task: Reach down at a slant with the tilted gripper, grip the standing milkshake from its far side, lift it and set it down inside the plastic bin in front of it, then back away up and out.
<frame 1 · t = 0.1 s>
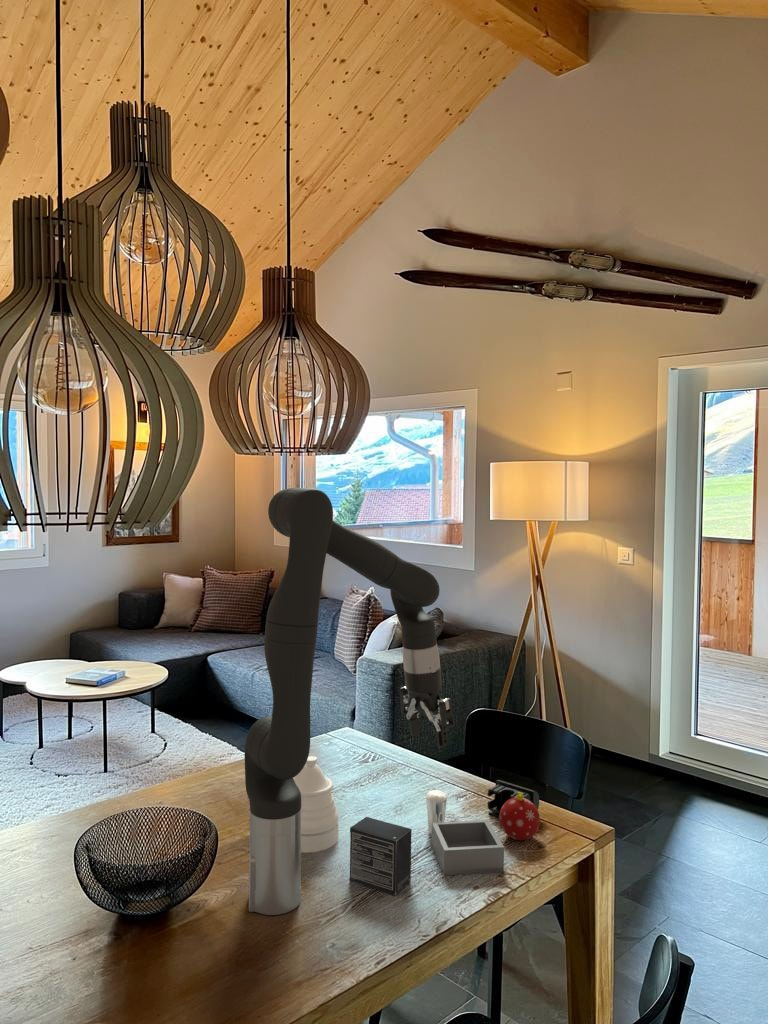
hand: (428, 740, 160), 22 cm above the table, tool pointing down, fingers open, 8 cm apart
honey pot: (308, 838, 164), on the table
bin: (466, 858, 156), on the table
christmas ornament: (519, 838, 165), on the table
milkshake: (437, 834, 167), on the table
end cap: (512, 816, 176), on the table
small box: (380, 882, 147), on the table
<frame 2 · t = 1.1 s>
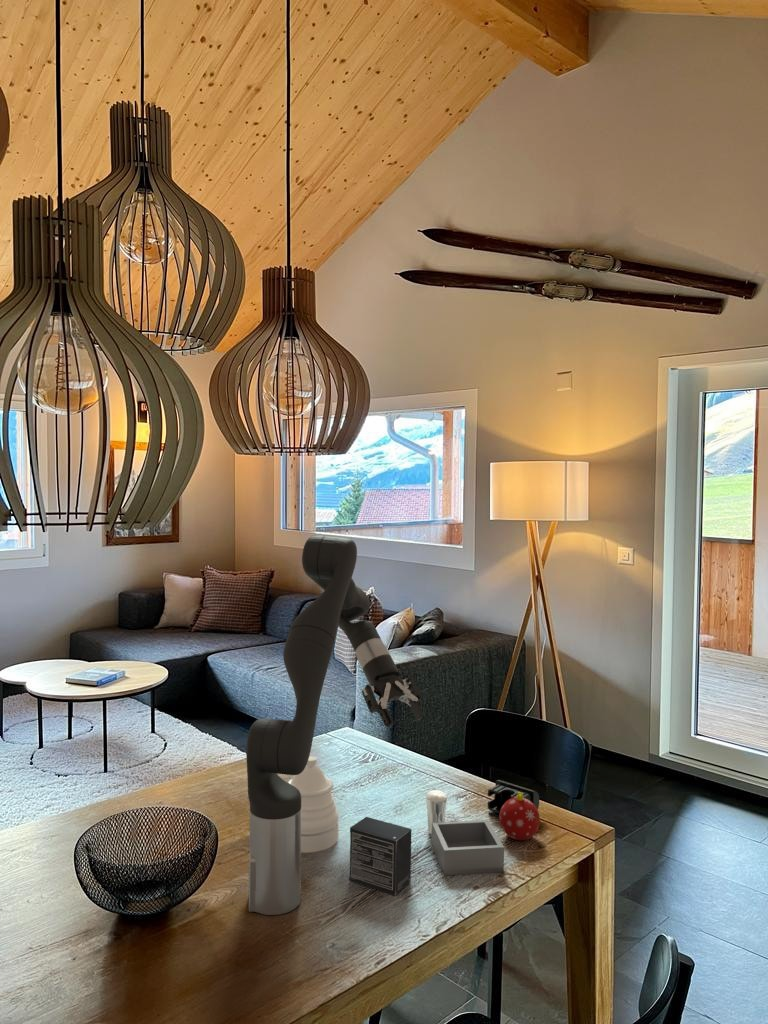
hand: (406, 722, 175), 21 cm above the table, tool tilted 45°, fingers open, 8 cm apart
nothing on the table moved.
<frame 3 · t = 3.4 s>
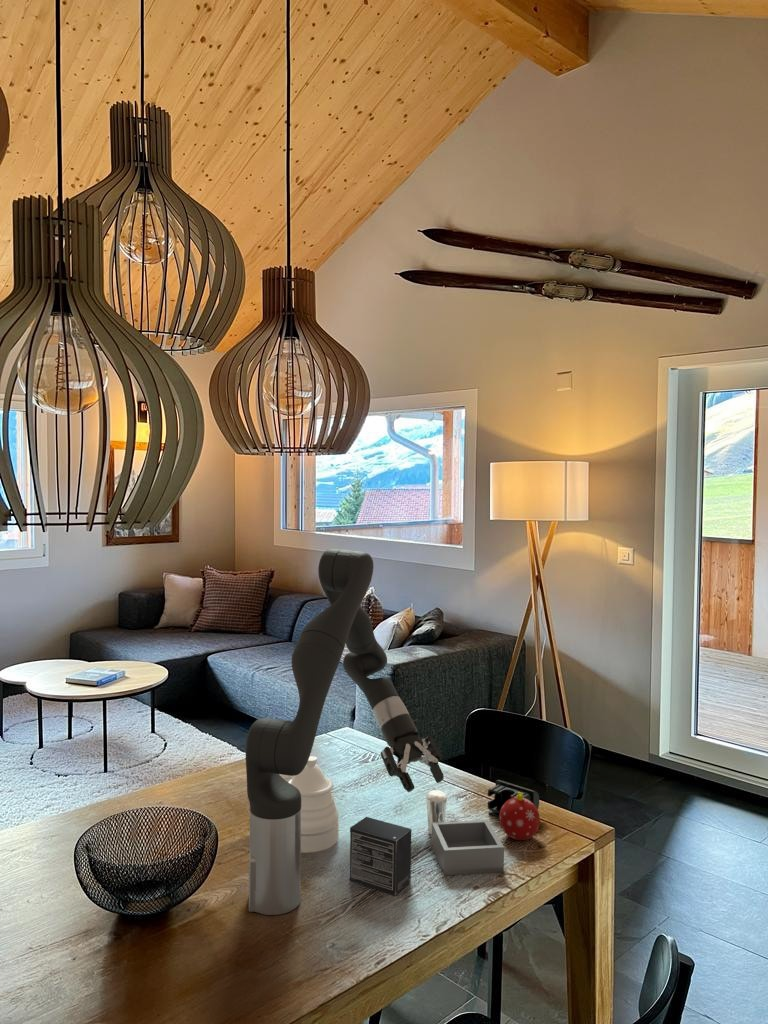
hand: (426, 785, 169), 9 cm above the table, tool tilted 45°, fingers open, 8 cm apart
nothing on the table moved.
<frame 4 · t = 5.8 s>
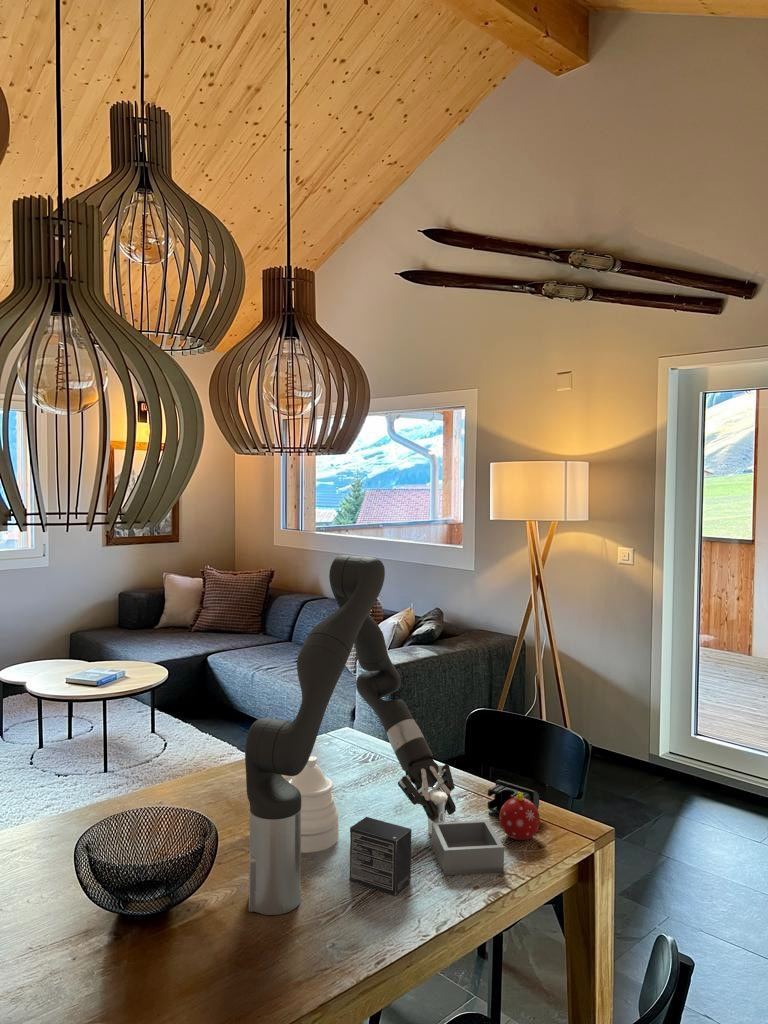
hand: (444, 815, 165), 5 cm above the table, tool tilted 45°, fingers closed on milkshake, 4 cm apart
milkshake: (437, 833, 167), on the table, touching gripper
everything else where it was.
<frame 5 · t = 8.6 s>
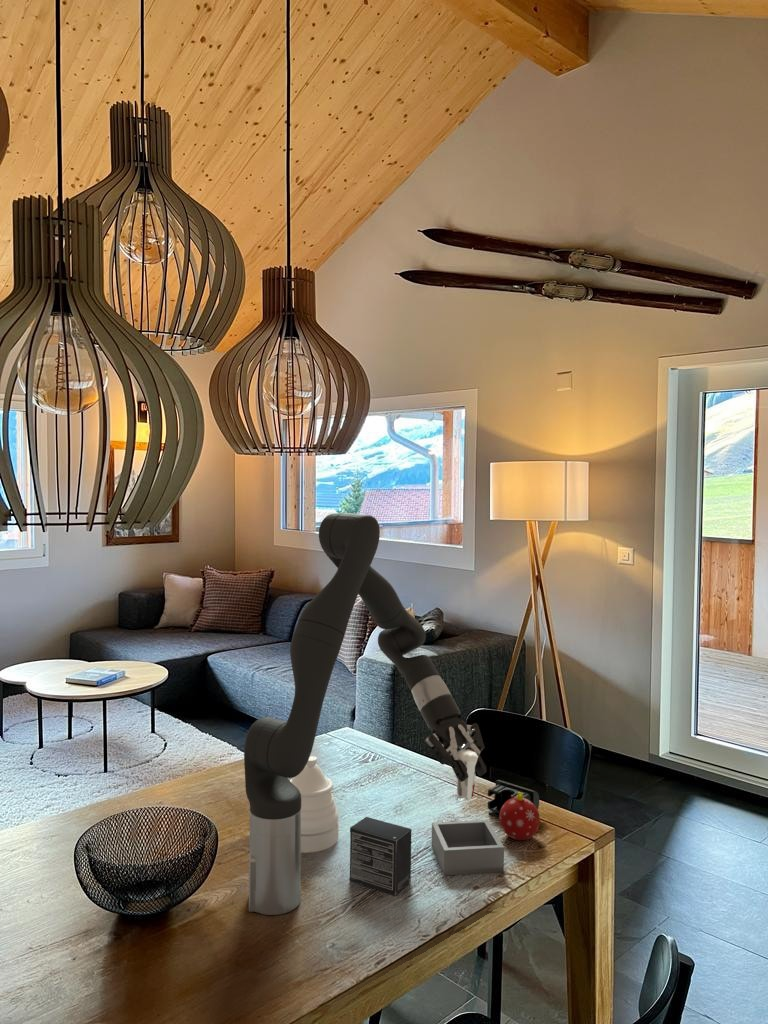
hand: (474, 776, 154), 18 cm above the table, tool tilted 45°, fingers closed on milkshake, 4 cm apart
milkshake: (467, 796, 155), point 13 cm above the table, touching gripper
everything else where it was.
when the fingers open (7 cm above the table, at t = 11.2 s): milkshake drops 2 cm, resting on bin.
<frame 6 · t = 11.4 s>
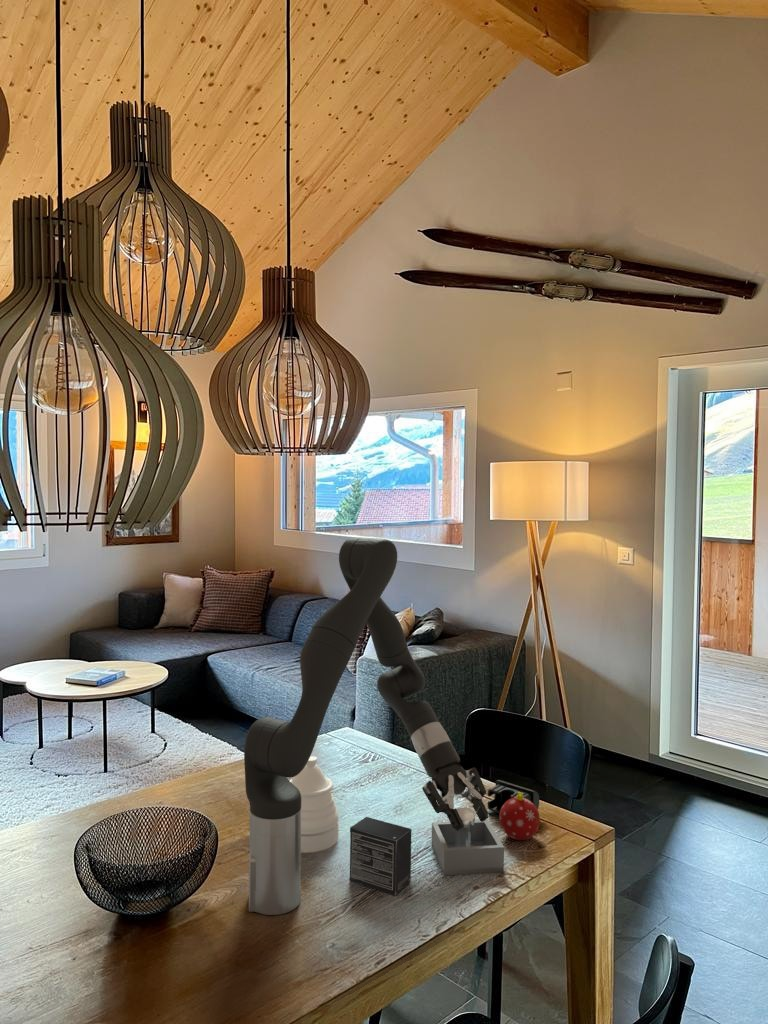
hand: (472, 823, 154), 8 cm above the table, tool tilted 45°, fingers open, 6 cm apart
milkshake: (465, 854, 156), point 1 cm above the table, touching bin
everything else where it was.
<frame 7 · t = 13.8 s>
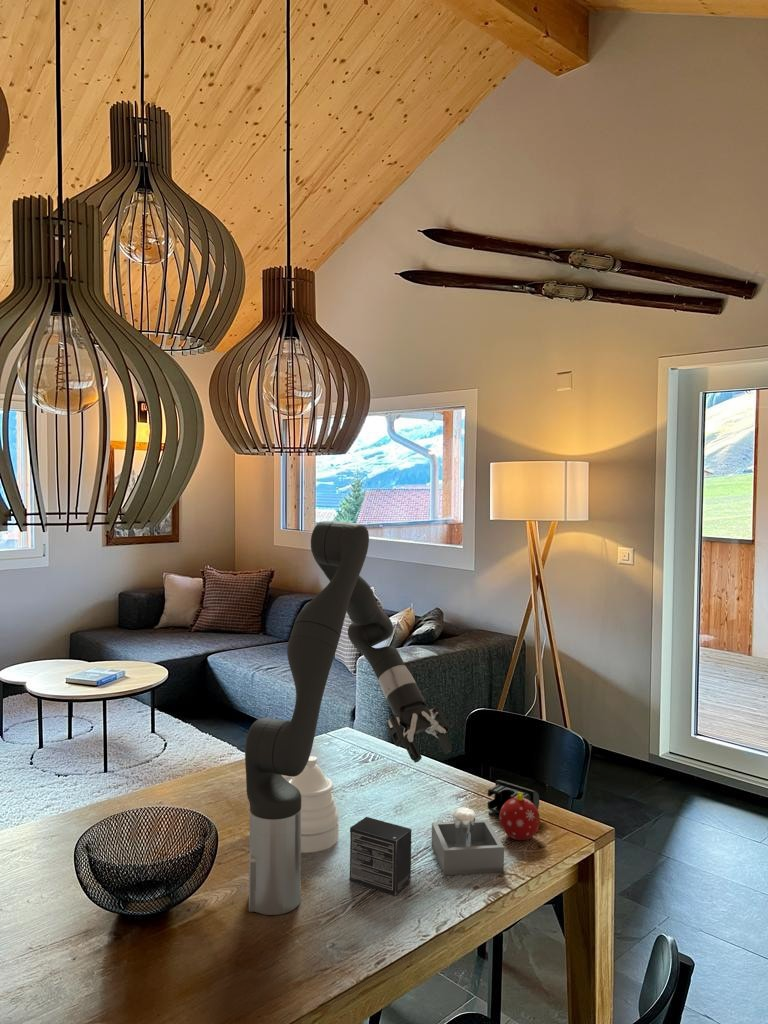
hand: (434, 756, 163), 18 cm above the table, tool tilted 45°, fingers open, 8 cm apart
nothing on the table moved.
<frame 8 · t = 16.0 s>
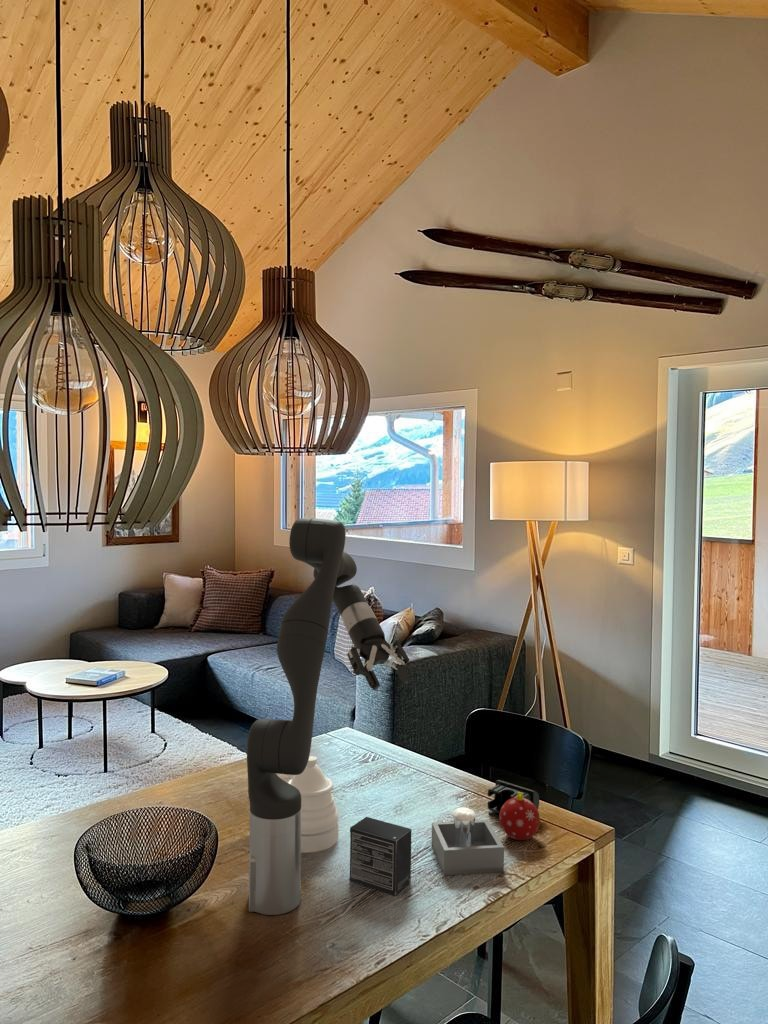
hand: (392, 685, 172), 31 cm above the table, tool tilted 45°, fingers open, 8 cm apart
nothing on the table moved.
at the end: milkshake inside the target area on the bin (0.2 cm from its centre), point 0.8 cm above the bin's base; the gripper is holding nothing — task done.
